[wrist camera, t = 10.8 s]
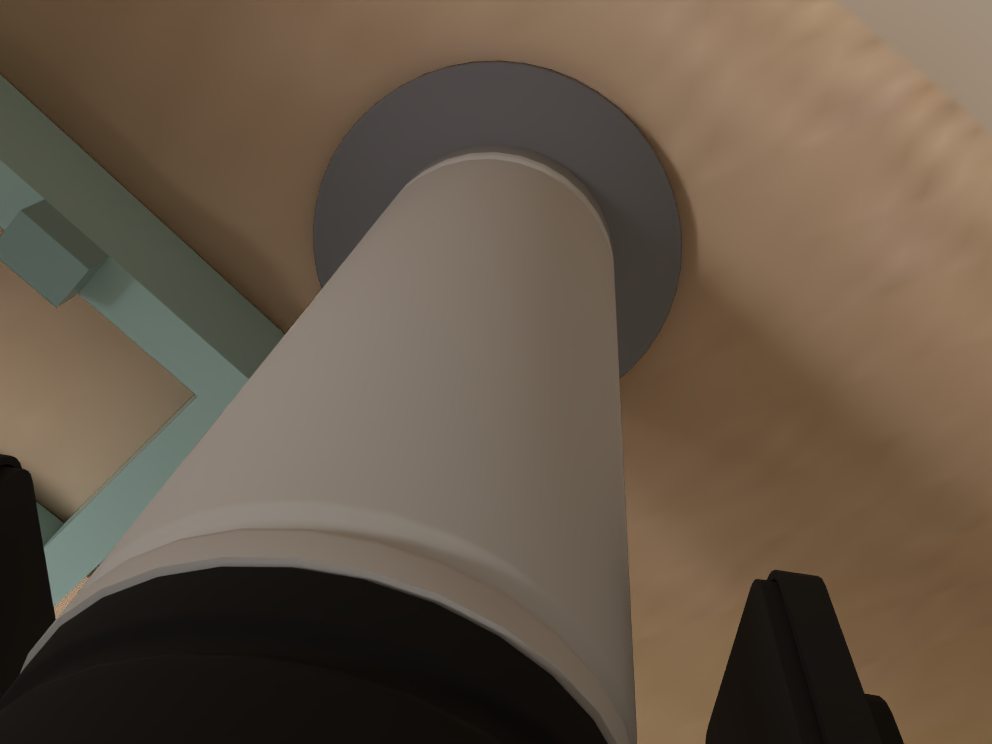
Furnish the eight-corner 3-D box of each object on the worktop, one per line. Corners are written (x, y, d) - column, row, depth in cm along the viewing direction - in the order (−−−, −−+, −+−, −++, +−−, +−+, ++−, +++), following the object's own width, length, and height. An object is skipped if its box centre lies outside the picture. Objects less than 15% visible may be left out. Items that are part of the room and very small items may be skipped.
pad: (248, 238, 24) (240, 245, 24) (500, -31, 21) (498, -30, 20) (492, 467, 27) (490, 477, 26) (756, 264, 23) (759, 271, 23)
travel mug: (654, 323, 24) (829, 1482, 6) (435, 388, 25) (47, 1449, 7) (582, 100, 21) (501, 915, 3) (345, 189, 23) (-545, 1051, 5)
